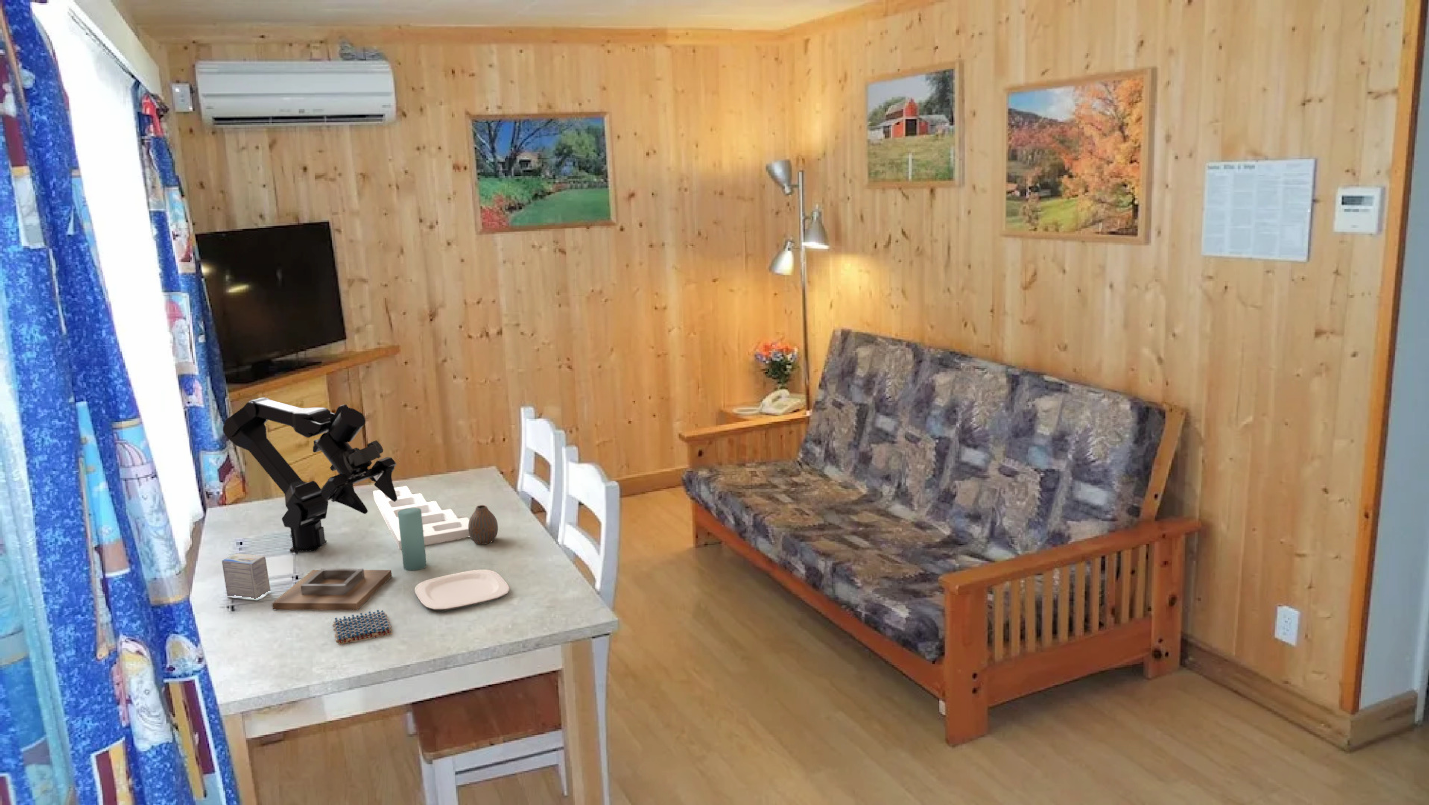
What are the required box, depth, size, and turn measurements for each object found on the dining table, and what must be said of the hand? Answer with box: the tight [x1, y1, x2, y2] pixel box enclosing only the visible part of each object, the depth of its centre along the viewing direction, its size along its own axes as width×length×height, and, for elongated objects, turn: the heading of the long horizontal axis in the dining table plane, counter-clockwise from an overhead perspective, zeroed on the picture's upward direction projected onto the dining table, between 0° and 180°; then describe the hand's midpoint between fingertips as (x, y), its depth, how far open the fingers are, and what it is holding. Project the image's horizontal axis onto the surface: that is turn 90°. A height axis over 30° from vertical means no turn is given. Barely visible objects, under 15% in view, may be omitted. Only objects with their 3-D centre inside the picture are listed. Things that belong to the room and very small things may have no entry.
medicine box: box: [221, 553, 272, 599], centre depth 223 cm, size 8×4×9 cm, turn 71°
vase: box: [468, 504, 499, 545], centre depth 251 cm, size 7×7×9 cm
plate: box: [414, 569, 511, 611], centre depth 221 cm, size 18×18×2 cm
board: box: [271, 568, 393, 611], centre depth 224 cm, size 18×18×4 cm
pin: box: [398, 508, 427, 571], centre depth 236 cm, size 5×5×13 cm
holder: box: [372, 485, 470, 550], centre depth 272 cm, size 45×18×3 cm, turn 25°
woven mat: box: [332, 609, 393, 645], centre depth 205 cm, size 10×11×2 cm
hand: (381, 506), depth 238 cm, fingers open, 9 cm apart
